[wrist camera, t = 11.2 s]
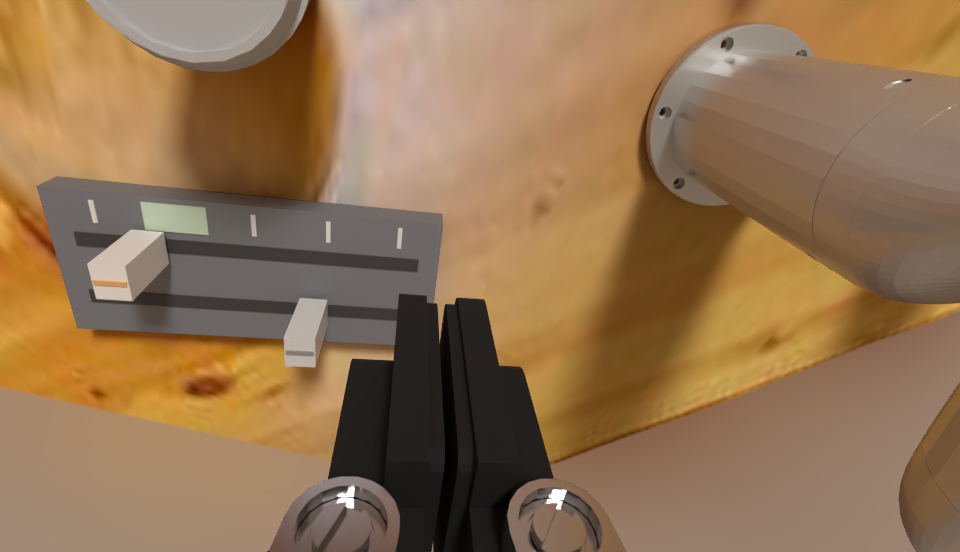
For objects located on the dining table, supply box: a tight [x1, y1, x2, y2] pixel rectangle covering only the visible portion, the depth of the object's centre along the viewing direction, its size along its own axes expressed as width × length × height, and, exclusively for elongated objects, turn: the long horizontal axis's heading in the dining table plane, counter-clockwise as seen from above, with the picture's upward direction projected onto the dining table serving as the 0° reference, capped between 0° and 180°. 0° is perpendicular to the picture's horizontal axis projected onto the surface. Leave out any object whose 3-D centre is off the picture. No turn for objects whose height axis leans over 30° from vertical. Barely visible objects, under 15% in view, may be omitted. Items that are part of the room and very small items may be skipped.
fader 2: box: [284, 298, 328, 367], centre depth 35 cm, size 2×2×5 cm
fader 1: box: [87, 229, 169, 301], centre depth 31 cm, size 2×2×5 cm
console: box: [37, 177, 443, 345], centre depth 37 cm, size 26×11×2 cm, turn 82°
